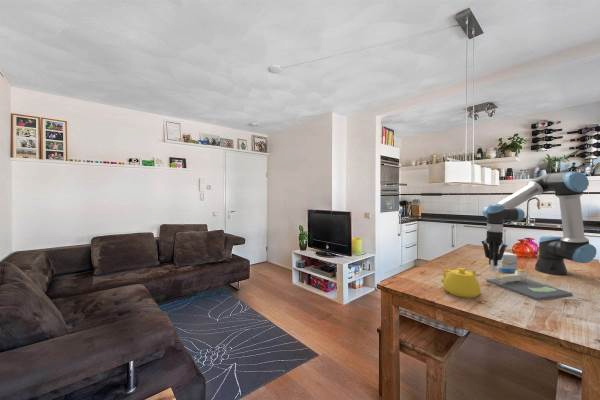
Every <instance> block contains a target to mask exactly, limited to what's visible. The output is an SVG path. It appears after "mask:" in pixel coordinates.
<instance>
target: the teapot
mask: <svg viewBox="0 0 600 400" xmlns="http://www.w3.org/2000/svg"><path fill="white" fill-rule="evenodd" d="M447 272H448V273H447ZM476 272H477V271H476V270H475V269H472V270H470V271H467V269H466V268H463V267H458V268H457V269H452V270H451V269H449V268H446V269H444V270H443V271H442V276H443V278H441V283H442V284H443V285H442V286H443V288H444V289H445V291H446V292H447V293H448V292H449V294H450V295H452V294H453V295H452V296H456V297H458V298H463V299H473V298H477V297H478V296H479V295H480V294H481V291H482V289H481V286H480V283H479V281H478V280H477V278H476ZM446 273H447V274H446Z"/></svg>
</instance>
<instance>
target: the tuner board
mask: <svg viewBox="0 0 600 400" xmlns="http://www.w3.org/2000/svg"><path fill="white" fill-rule="evenodd" d="M485 281H486V283H489V284H492V285H495V286H497V287H500V288H502V289H505V290H508V291H511V292H513V293H516V294H519V295H522V296H524V297H526V296H527V297H526V298H528V299H529V298H530V299H531V300H535V301H540V300H541V301H542V300H547V299H548V300H549V299H555V298H556V299H557V298H564V297H571V296H573V292H570V291H567V290H563V289H561V288H557V287H554V286H551V285H548V284H545V283H542V282H538V281H534V280H532V279H528V278H526V282H520V281H509V282H501V281H498V280H497V279H496V278H489V279H486V280H485Z"/></svg>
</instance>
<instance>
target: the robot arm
mask: <svg viewBox="0 0 600 400" xmlns="http://www.w3.org/2000/svg"><path fill="white" fill-rule="evenodd" d="M589 184H590V180H589V178H588V176H586V175H585V174H584V173H583V172H580V171H561V172H549V173H545V174H543V175H539V176H537V177H536V178H534V179H532V180H530V181H529V182H527V183H526V186H524V187H522V188H521V189H519V190H517V191H515V192H513V193H512V194H510V195H509V196H507V197H505V198H503V199H502V200H499V201H498V202H497V203H495V204H488V206H485V207H484V208H482V211H481V212H482V215H483V217H485V218H487V219H486V221H487V222H486V238H485V240H483V241H482V240H481V244H482V246H483V250H484V254H485V255H484V256H485V258H487V259H488V264H489V265H490V267H489V268H490V269H489V271H490V272H496V271H497V269H496V266H497V265H498V260H502V257H503V254H504V252H506V248H507V247H508V244H505V243H504V241H503V235H504V232H503V231H504V222H507V221H508V222H520V221H523V220H524V218H525V216H526V215H525V214H526V213H525V211H524V210H523V209H522V208H518V206H520V205H522V204H524V203H525V202H527V201H529V200H530V199H532V198H534V197H536V196H540V195H543V194H544V193H548V192H554V196H555V197H557V198H558V199H559V209H560V217H561V225H562V234H563V236H554V235H553V236H552V235H550V236H549V235H548V236H544V235H543V236H541V237H539V242H538V258H537V261H536V263H535V265H534V270H535V271H538V272H540V273H541V272H542V273H546V274H550V275H557V276H566V275H568V269H567V267H566V264H565V260H567V261H570V262H575V263H579V264H588V263H590V262H592V261H593V260H595V257H596V255H597V248H596V247H595V245H593V244H591V243H590V240H589V238H587V237H586V236H585V229H584V228H585V227H584V221H583V220H584V219H583V210H582V203H581V196H583V195H584V192H585V191H586V190H588V187H589V186H590V185H589Z"/></svg>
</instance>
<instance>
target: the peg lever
mask: <svg viewBox="0 0 600 400" xmlns="http://www.w3.org/2000/svg"><path fill="white" fill-rule="evenodd" d="M495 279H497V280H498V281H501V282H509V281H520V282H526V279H527V271H526V270H523V269H518V268H517V270H515V273H506V274H498V275H497V277H496V278H495Z"/></svg>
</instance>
